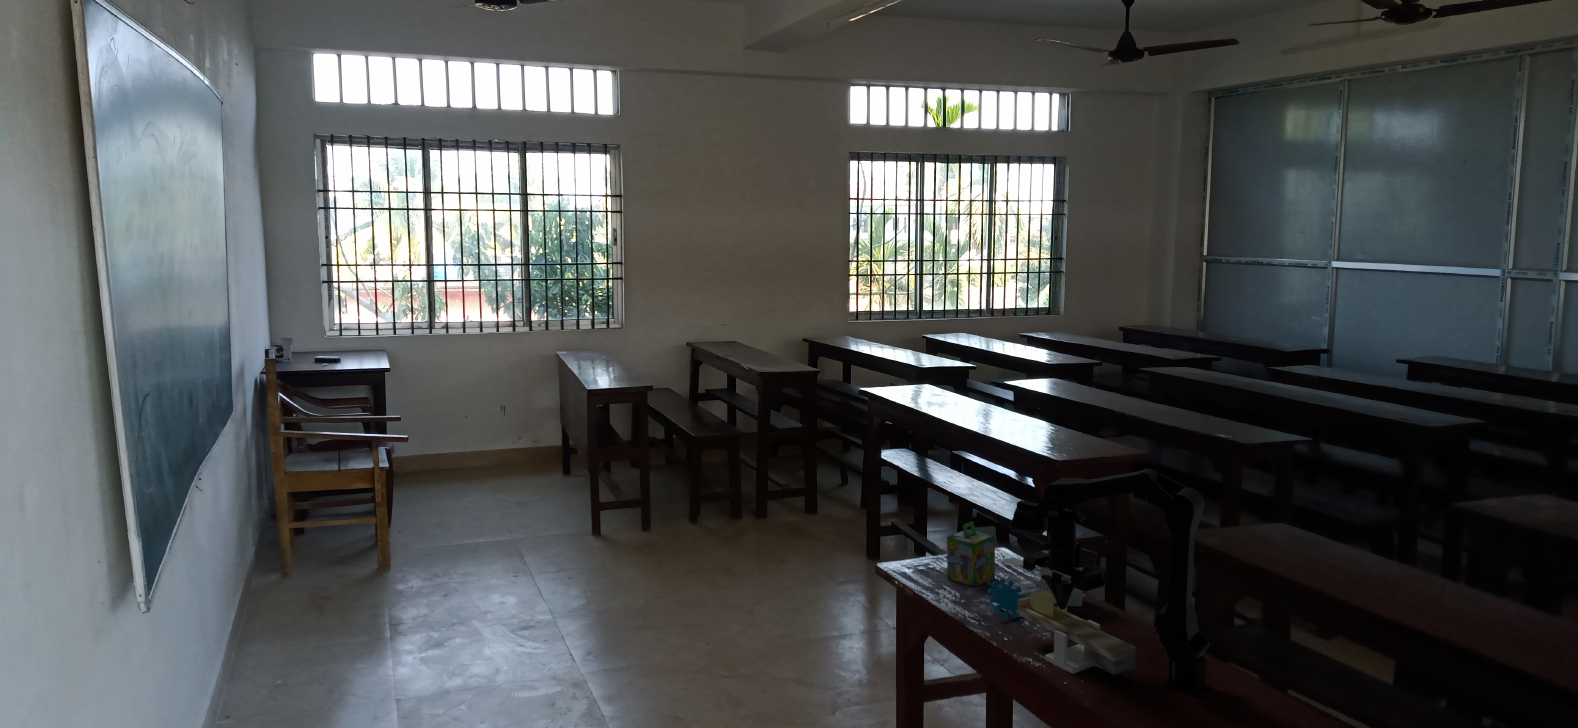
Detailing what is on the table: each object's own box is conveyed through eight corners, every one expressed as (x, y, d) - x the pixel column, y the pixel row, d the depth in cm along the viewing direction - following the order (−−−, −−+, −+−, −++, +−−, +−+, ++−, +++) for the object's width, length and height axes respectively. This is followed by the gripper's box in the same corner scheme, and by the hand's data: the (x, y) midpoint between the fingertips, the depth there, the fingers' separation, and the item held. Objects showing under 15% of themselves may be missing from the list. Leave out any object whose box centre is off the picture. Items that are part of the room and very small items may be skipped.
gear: (998, 617, 236) (985, 577, 242) (986, 628, 240) (974, 588, 246) (1038, 615, 240) (1025, 576, 246) (1026, 626, 244) (1013, 587, 250)
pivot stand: (1108, 661, 216) (1109, 628, 215) (1072, 673, 211) (1073, 640, 210) (1080, 647, 223) (1081, 615, 222) (1045, 659, 218) (1045, 626, 217)
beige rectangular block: (1066, 617, 221) (1067, 599, 221) (1053, 621, 219) (1053, 603, 219) (1043, 606, 227) (1044, 589, 227) (1030, 610, 225) (1030, 593, 225)
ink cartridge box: (1081, 598, 250) (1082, 541, 248) (1083, 607, 244) (1084, 549, 242) (1039, 596, 252) (1040, 540, 250) (1040, 605, 246) (1041, 547, 244)
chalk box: (974, 588, 259) (974, 531, 256) (945, 579, 265) (945, 524, 263) (996, 578, 265) (996, 523, 262) (968, 569, 271) (967, 515, 269)
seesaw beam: (1138, 666, 207) (1139, 635, 206) (1110, 676, 203) (1111, 645, 202) (1041, 619, 231) (1041, 592, 230) (1014, 628, 227) (1014, 600, 226)
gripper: (1123, 541, 213) (1123, 613, 215) (1058, 521, 229) (1059, 588, 231) (1084, 552, 207) (1084, 626, 210) (1020, 530, 224) (1021, 599, 226)
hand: (1062, 608), depth 219 cm, fingers closed
